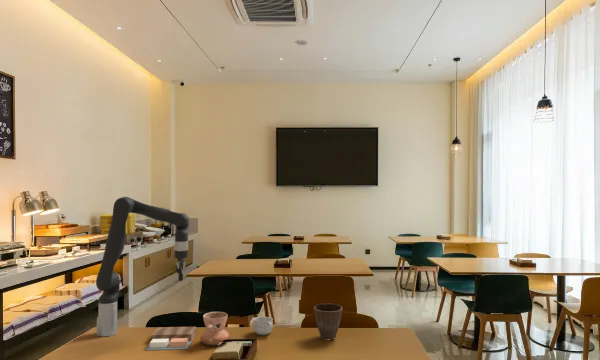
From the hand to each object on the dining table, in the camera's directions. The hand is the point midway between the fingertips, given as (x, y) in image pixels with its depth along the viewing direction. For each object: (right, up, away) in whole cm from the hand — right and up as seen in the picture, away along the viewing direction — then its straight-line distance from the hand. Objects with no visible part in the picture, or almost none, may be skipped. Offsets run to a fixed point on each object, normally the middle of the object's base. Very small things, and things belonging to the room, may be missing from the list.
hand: (180, 280), depth 225 cm
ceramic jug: (+23, -28, -18) cm, 40 cm away
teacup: (+47, -28, -5) cm, 55 cm away
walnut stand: (0, -28, -12) cm, 30 cm away
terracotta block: (+6, -24, -23) cm, 34 cm away
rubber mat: (+1, -27, -23) cm, 36 cm away
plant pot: (+81, -28, -11) cm, 87 cm away
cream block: (-4, -24, -23) cm, 34 cm away
